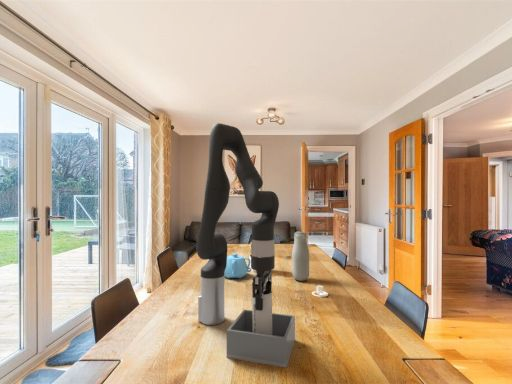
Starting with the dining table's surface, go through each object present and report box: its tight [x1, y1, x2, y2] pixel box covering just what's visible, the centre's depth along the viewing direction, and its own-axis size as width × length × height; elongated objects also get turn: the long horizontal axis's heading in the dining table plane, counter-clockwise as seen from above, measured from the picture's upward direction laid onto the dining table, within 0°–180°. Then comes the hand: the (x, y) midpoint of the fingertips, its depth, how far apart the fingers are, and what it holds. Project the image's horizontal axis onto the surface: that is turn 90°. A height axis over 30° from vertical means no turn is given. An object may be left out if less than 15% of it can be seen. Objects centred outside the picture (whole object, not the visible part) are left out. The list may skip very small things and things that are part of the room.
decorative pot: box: [225, 253, 252, 279], centre depth 170 cm, size 16×16×14 cm
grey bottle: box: [291, 230, 310, 282], centre depth 162 cm, size 10×10×28 cm
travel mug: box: [251, 281, 273, 335], centre depth 90 cm, size 6×7×20 cm
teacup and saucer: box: [311, 285, 329, 298], centre depth 139 cm, size 9×8×4 cm
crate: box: [226, 309, 296, 368], centre depth 89 cm, size 18×16×8 cm
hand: (262, 304), depth 89 cm, fingers open, 8 cm apart
